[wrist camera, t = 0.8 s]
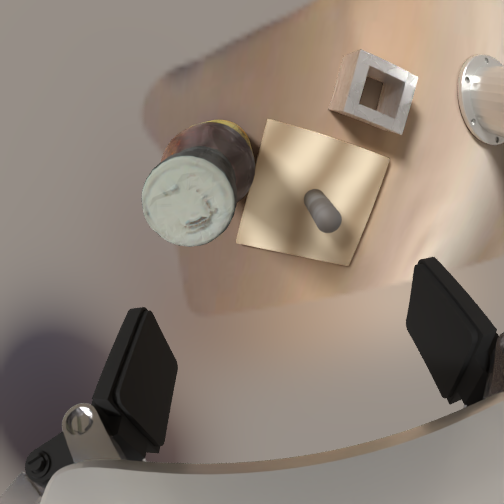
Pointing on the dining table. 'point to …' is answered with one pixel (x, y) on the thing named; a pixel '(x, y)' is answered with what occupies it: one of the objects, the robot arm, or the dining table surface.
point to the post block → (310, 194)
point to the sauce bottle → (199, 183)
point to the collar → (391, 98)
